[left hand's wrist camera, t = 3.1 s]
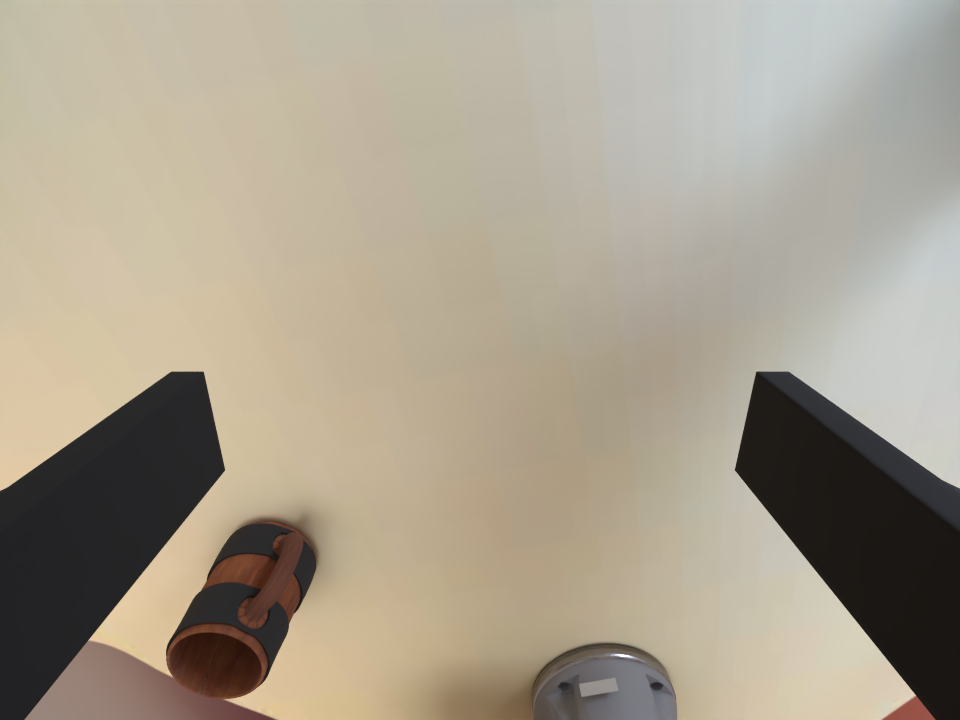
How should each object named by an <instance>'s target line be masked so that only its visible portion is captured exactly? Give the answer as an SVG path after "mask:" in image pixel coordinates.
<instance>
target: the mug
mask: <svg viewBox="0 0 960 720" xmlns="http://www.w3.org/2000/svg"><path fill="white" fill-rule="evenodd" d="M315 570H316V559H315V555H314V552H313V550H312V547H311V545H310V543H309V542H308V540H307V539H306V538H305V537H304V536H303V535H302V534H301V533H300V532H298V531H297V530H296V529H294V528H292V527H290V526H288V525H285V524H282V523H277V522H258V523H254V524H251V525H248V526H245V527H242V528H241V529H239V530H237V531H236V532H234V533H233V534H232V535H231V536H230V538H229V539H228V540H227V542H226V543H225V545H224V546H223V548H222V549H221V551H220V553H219V554H218V556H217V558H216V560H215V562H214V564H213V566H212V567H211V569H210V571H209V574H208V577H207V582H206V583H205V585H204V587H203V588H202V590H201V591H200V592H199V593H198V594H197V595H196V596H195V598H194V599H193V600H192V602H191V604H190V606H189V608H188V610H187V612H186V614H185V616H184V617H183V619H182V621H181V623H180V624H179V626H178V628H177V630H176V631H175V633H174V635H173V636H172V638H171V639H170V641H169V643H168V645H167V649H166V657H167V659H166V661H167V666H168V669H169V671H170V673H171V674H172V676H173V677H174V678H175V679H176V681H177V682H179V683H180V684H181V685H182V686H184V687H185V688H186V689H188V690H190V691H192V692H194V693H196V694H199V695H202V696H205V697H209V698H216V699H230V698H237V697H241V696H244V695H246V694H248V693H250V692H252V691H253V690H255V689H256V688H257V687H258V686H260V685H261V684H262V683H263V682H264V681H265V679H266V678H267V676H268V674H269V671H270V669H271V667H272V664H273V662H274V660H275V658H276V655H277V653H278V651H279V649H280V647H281V645H282V643H283V641H284V639H285V637H286V635H287V632H288V628H289V623H290V621H291V618H292V616H293V614H294V613H295V612H296V611H297V610H298V608H299V607H300V605H301V603H302V601H303V599H304V597H305V595H306V593H307V591H308V589H309V586H310V584H311V582H312V579H313V576H314V573H315Z"/></svg>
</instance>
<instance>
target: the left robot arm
mask: <svg viewBox="0 0 960 720" xmlns="http://www.w3.org/2000/svg"><path fill="white" fill-rule="evenodd" d="M224 471H225V468H224V463H223V458H222V454H221V449H220V445H219V440H218V435H217V431H216V426H215V422H214V417H213V412H212V408H211V403H210V399H209V394H208V389H207V385H206V380H205V376H204V372H170V373H169V374H167V375H166V376H165V377H163V378H162V379H160V380H159V381H158V382H156V383H155V384H153V385H152V386H151V387H149V388H148V389H146V390H145V391H143V392H142V393H141V394H139V395H138V396H136V397H135V398H134V399H132V400H131V401H129V402H128V403H126V404H125V405H124V406H122V407H121V408H119V409H118V410H117V411H115V412H114V413H112V414H111V415H109V416H108V417H107V418H105V419H104V420H102V421H101V422H100V423H98V424H97V425H95V426H94V427H93V428H91V429H90V430H88V431H87V432H85V433H84V434H83V435H81V436H80V437H78V438H77V439H76V440H74V441H73V442H71V443H70V444H68V445H67V446H66V447H64V448H63V449H61V450H60V451H59V452H57V453H56V454H54V455H53V456H52V457H50V458H49V459H47V460H46V461H44V462H43V463H42V464H40V465H39V466H37V467H36V468H35V469H33V470H32V471H30V472H29V473H27V474H26V475H25V476H23V477H22V478H20V479H19V480H18V481H16V482H15V483H13V484H12V485H11V486H9V487H8V488H6V489H3V490H1V491H0V720H24V719H25V718H26V717H27V716H28V714H29V713H30V712H31V711H32V709H33V708H34V707H35V706H36V704H37V703H38V702H39V701H40V700H41V698H42V697H43V696H44V695H45V693H46V692H47V691H48V690H49V688H50V687H51V686H52V685H53V683H54V682H55V681H56V680H57V678H58V677H59V676H60V675H61V673H62V672H63V671H64V670H65V668H66V667H67V666H68V665H69V663H70V662H71V661H72V660H73V658H74V657H75V656H76V655H77V654H78V652H79V651H80V650H81V649H82V647H83V646H84V645H85V644H86V642H87V641H88V640H89V639H90V637H91V636H92V635H93V634H94V632H95V631H96V630H97V629H98V627H99V626H100V625H101V624H102V623H103V621H104V620H105V619H106V618H107V616H108V615H109V614H110V613H111V611H112V610H113V609H114V608H115V606H116V605H117V604H118V603H119V601H120V600H121V599H122V598H123V596H124V595H125V594H126V593H127V591H128V590H129V589H130V588H131V586H132V585H133V584H134V583H135V582H136V580H137V579H138V578H139V577H140V575H141V574H142V573H143V572H144V570H145V569H146V568H147V567H148V565H149V564H150V563H151V562H152V560H153V559H154V558H155V557H156V555H157V554H158V553H159V552H160V550H161V549H162V548H163V547H164V545H165V544H166V543H167V542H168V541H169V539H170V538H171V537H172V536H173V534H174V533H175V532H176V531H177V529H178V528H179V527H180V526H181V524H182V523H183V522H184V521H185V519H186V518H187V517H188V516H189V514H190V513H191V512H192V511H193V509H194V508H195V507H196V506H197V504H198V503H199V502H200V501H201V500H202V498H203V497H204V496H205V495H206V493H207V492H208V491H209V490H210V488H211V487H212V486H213V485H214V483H215V482H216V481H217V480H218V478H219V477H220V476H221V475H222V473H223V472H224ZM735 471H736V472H737V473H738V475H739V476H740V477H741V478H742V480H743V481H744V482H745V483H746V485H747V486H748V487H749V488H750V490H751V491H752V492H753V493H754V495H755V496H756V497H757V498H758V500H759V501H760V502H761V503H762V504H763V506H764V507H765V508H766V509H767V511H768V512H769V513H770V514H771V516H772V517H773V518H774V519H775V521H776V522H777V523H778V524H779V526H780V527H781V528H782V529H783V531H784V532H785V533H786V534H787V536H788V537H789V538H790V539H791V541H792V542H793V543H794V544H795V545H796V547H797V548H798V549H799V550H800V552H801V553H802V554H803V555H804V557H805V558H806V559H807V560H808V562H809V563H810V564H811V565H812V567H813V568H814V569H815V570H816V572H817V573H818V574H819V575H820V577H821V578H822V579H823V580H824V582H825V583H826V584H827V585H828V586H829V588H830V589H831V590H832V591H833V593H834V594H835V595H836V596H837V598H838V599H839V600H840V601H841V603H842V604H843V605H844V606H845V608H846V609H847V610H848V611H849V613H850V614H851V615H852V616H853V618H854V619H855V620H856V621H857V623H858V624H859V625H860V626H861V627H862V629H863V630H864V631H865V632H866V634H867V635H868V636H869V637H870V639H871V640H872V641H873V642H874V644H875V645H876V646H877V647H878V649H879V650H880V651H881V652H882V654H883V655H884V656H885V657H886V659H887V660H888V661H889V662H890V664H891V665H892V666H893V667H894V668H895V670H896V671H897V672H898V673H899V675H900V676H901V677H902V678H903V680H904V681H905V682H906V683H907V685H908V686H909V687H910V688H911V690H912V691H913V692H914V693H915V695H916V696H917V697H918V698H919V700H920V701H921V702H922V703H923V705H924V706H925V707H926V708H927V709H928V711H929V712H930V713H931V714H932V716H933V717H934V718H935V719H936V720H960V489H959V488H957V487H955V486H953V485H951V484H949V483H947V482H945V481H943V480H941V479H940V478H938V477H937V476H935V475H934V474H933V473H931V472H930V471H928V470H927V469H925V468H924V467H923V466H921V465H920V464H918V463H917V462H916V461H914V460H913V459H911V458H910V457H908V456H907V455H906V454H904V453H903V452H901V451H900V450H899V449H897V448H896V447H894V446H893V445H892V444H890V443H889V442H887V441H886V440H884V439H883V438H882V437H880V436H879V435H877V434H876V433H875V432H873V431H872V430H870V429H869V428H867V427H866V426H865V425H863V424H862V423H860V422H859V421H858V420H856V419H855V418H853V417H852V416H851V415H849V414H848V413H846V412H845V411H843V410H842V409H841V408H839V407H838V406H836V405H835V404H834V403H832V402H831V401H829V400H828V399H826V398H825V397H824V396H822V395H821V394H819V393H818V392H817V391H815V390H814V389H812V388H811V387H809V386H808V385H807V384H805V383H804V382H802V381H801V380H800V379H798V378H797V377H795V376H794V375H793V374H791V373H790V372H756V376H755V380H754V385H753V389H752V394H751V399H750V403H749V408H748V412H747V417H746V422H745V426H744V431H743V435H742V440H741V445H740V449H739V454H738V458H737V463H736V468H735ZM532 705H533V715H534V720H677V704H676V696H675V692H674V689H673V686H672V684H671V681H670V678H669V676H668V673H667V671H666V670H665V668H664V667H663V666H662V665H661V664H660V663H659V662H658V661H657V660H656V659H655V658H653V657H652V656H650V655H648V654H647V653H645V652H642V651H640V650H637V649H634V648H631V647H626V646H621V645H594V646H588V647H584V648H580V649H576V650H573V651H571V652H568V653H566V654H564V655H562V656H560V657H559V658H557V659H555V660H554V661H553V662H551V663H550V664H549V665H548V666H546V667H545V668H544V670H543V671H542V672H541V673H540V674H539V676H538V677H537V679H536V681H535V683H534V686H533V690H532Z"/></svg>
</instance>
